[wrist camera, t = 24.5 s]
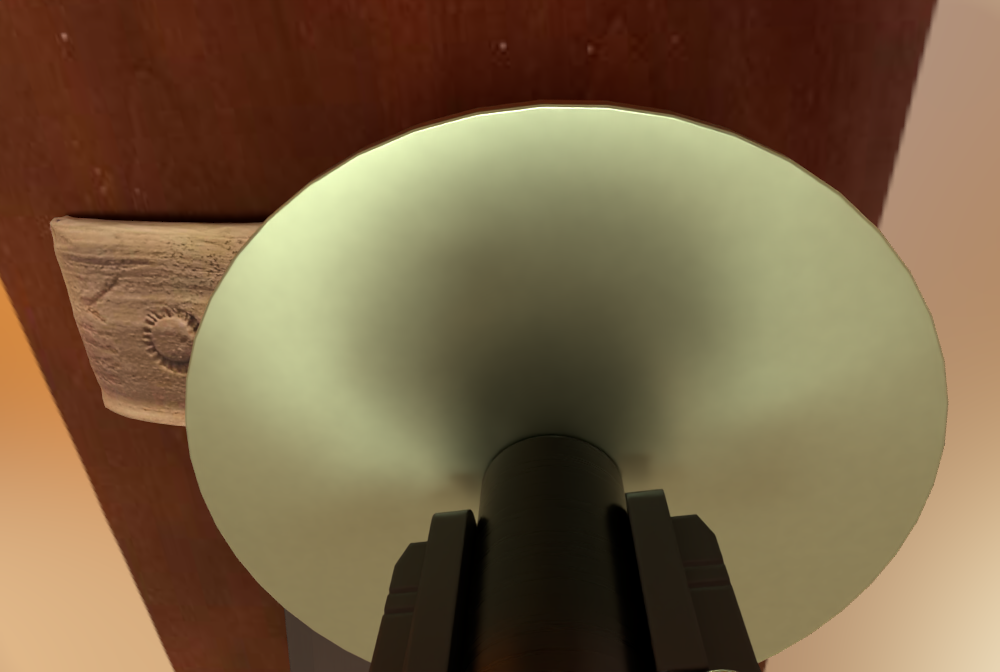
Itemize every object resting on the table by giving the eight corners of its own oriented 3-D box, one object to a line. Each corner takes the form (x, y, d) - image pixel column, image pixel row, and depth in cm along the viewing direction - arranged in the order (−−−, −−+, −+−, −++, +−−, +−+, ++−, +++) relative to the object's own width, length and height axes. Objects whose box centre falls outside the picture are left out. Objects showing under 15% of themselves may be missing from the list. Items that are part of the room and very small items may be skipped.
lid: (977, 2, 10) (1788, 24, 3) (881, 645, 17) (1083, 1027, 11) (73, 181, 12) (-453, 398, 5) (335, 684, 19) (237, 1022, 13)
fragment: (67, 152, 30) (-24, 171, 25) (393, 158, 28) (359, 180, 24) (135, 392, 35) (70, 443, 31) (411, 409, 34) (385, 465, 29)
